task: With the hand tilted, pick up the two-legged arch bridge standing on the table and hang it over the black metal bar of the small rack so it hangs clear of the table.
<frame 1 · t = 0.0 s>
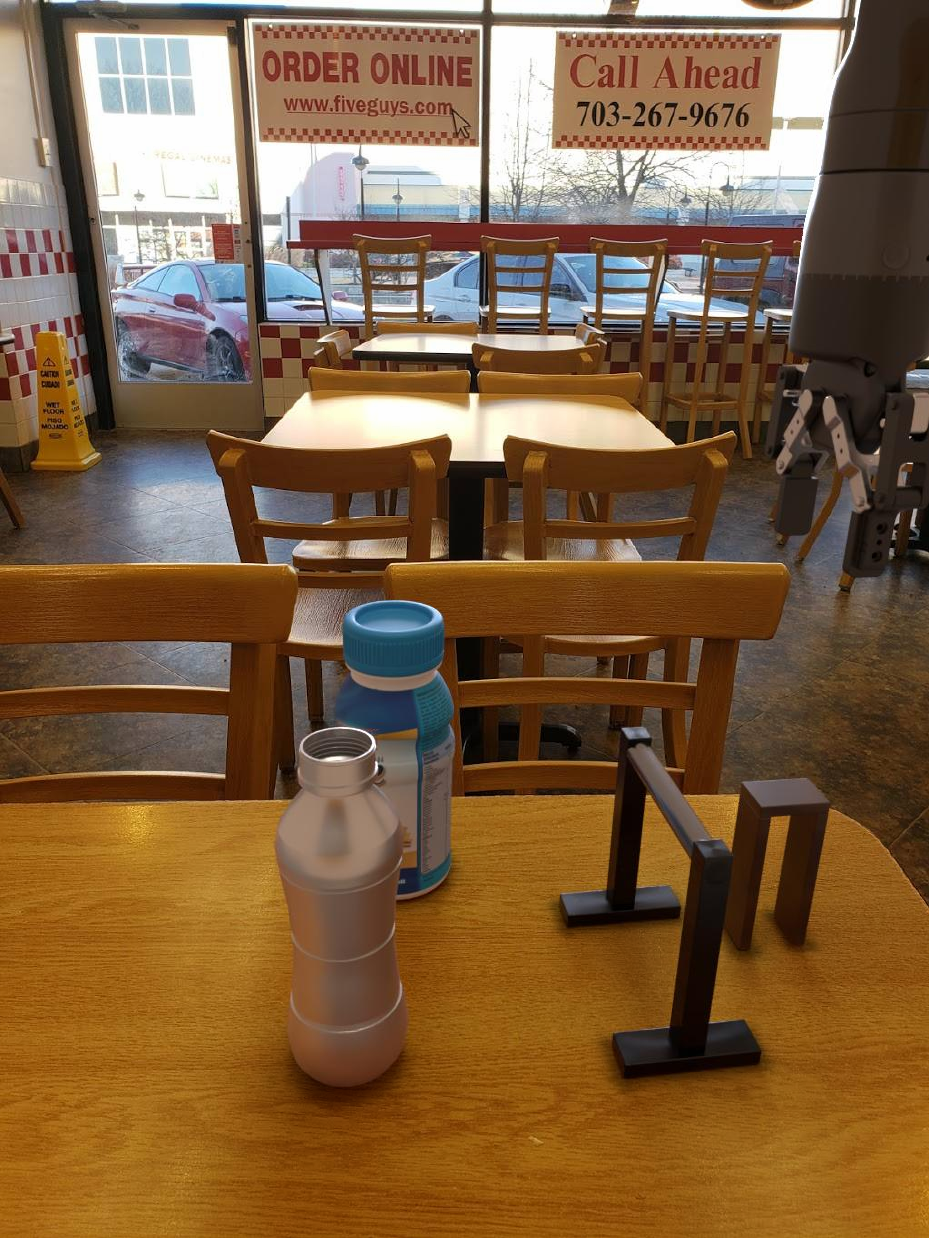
hand: (824, 553, 57), 26 cm above the table, tool pointing down, fingers open, 8 cm apart
rack: (648, 976, 59), on the table
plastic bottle: (348, 1059, 53), on the table
beverage bottle: (395, 871, 69), on the table
two-legged arch bridge: (761, 932, 63), on the table
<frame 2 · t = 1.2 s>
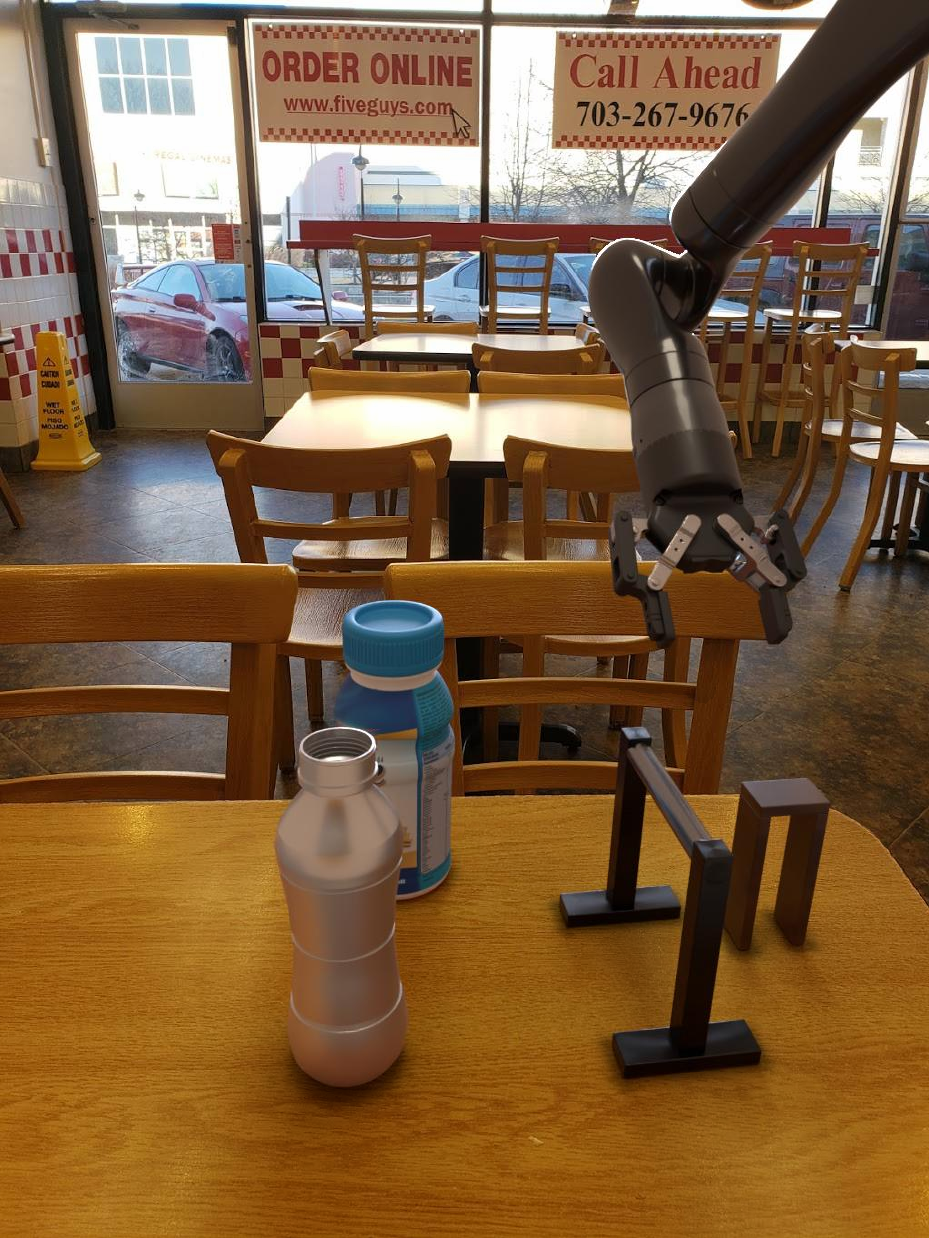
hand: (723, 642, 68), 17 cm above the table, tool tilted 45°, fingers open, 8 cm apart
nothing on the table moved.
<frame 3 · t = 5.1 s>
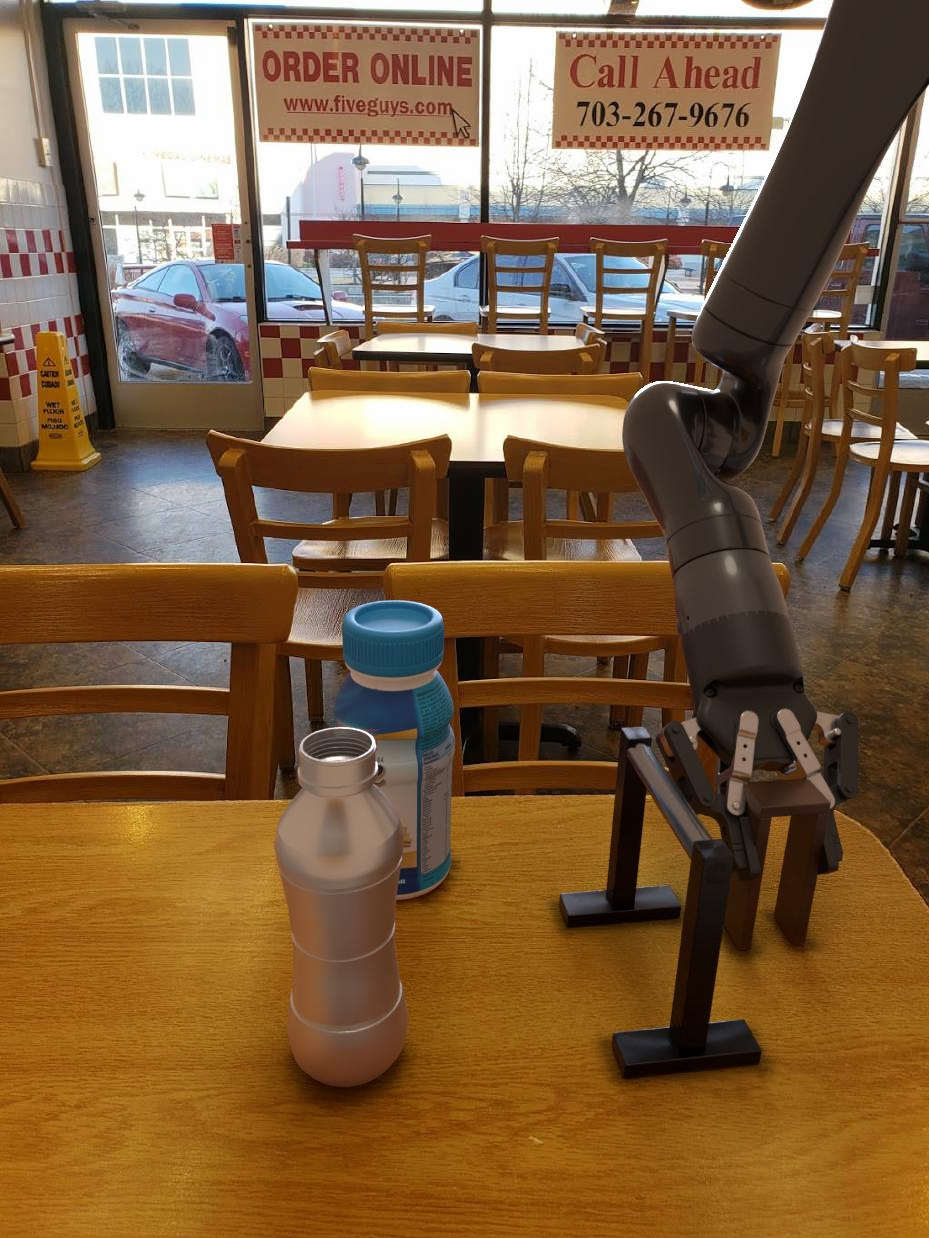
hand: (788, 874, 60), 6 cm above the table, tool tilted 45°, fingers closed on two-legged arch bridge, 4 cm apart
two-legged arch bridge: (762, 932, 63), on the table, touching gripper
everything else where it was.
when the fingers open (10 cm above the table, at t = 14.2 s): two-legged arch bridge stays where it is, resting on rack.
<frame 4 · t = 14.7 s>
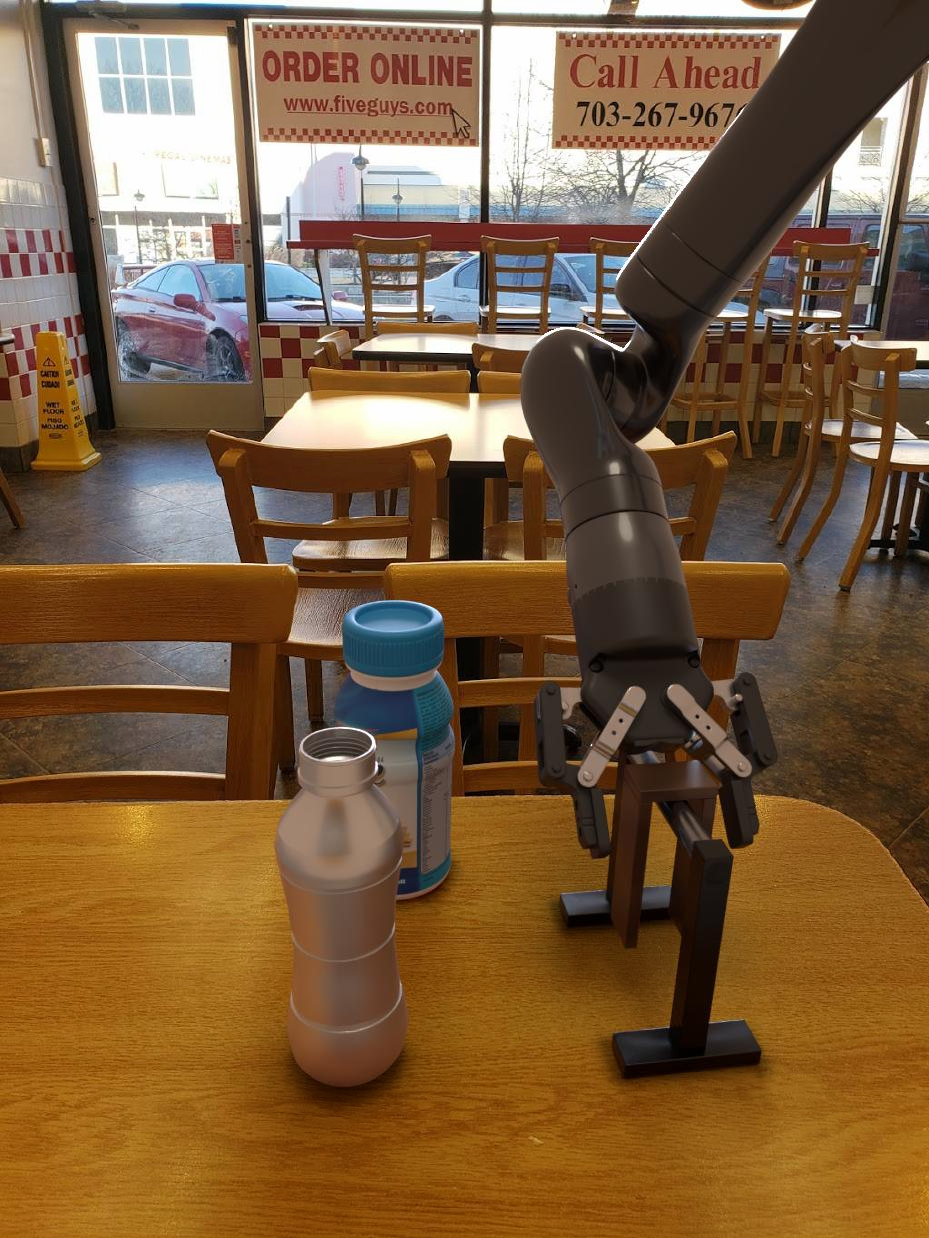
hand: (672, 851, 54), 10 cm above the table, tool tilted 45°, fingers open, 8 cm apart
two-legged arch bridge: (652, 929, 58), point 4 cm above the table, touching rack
everything else where it was.
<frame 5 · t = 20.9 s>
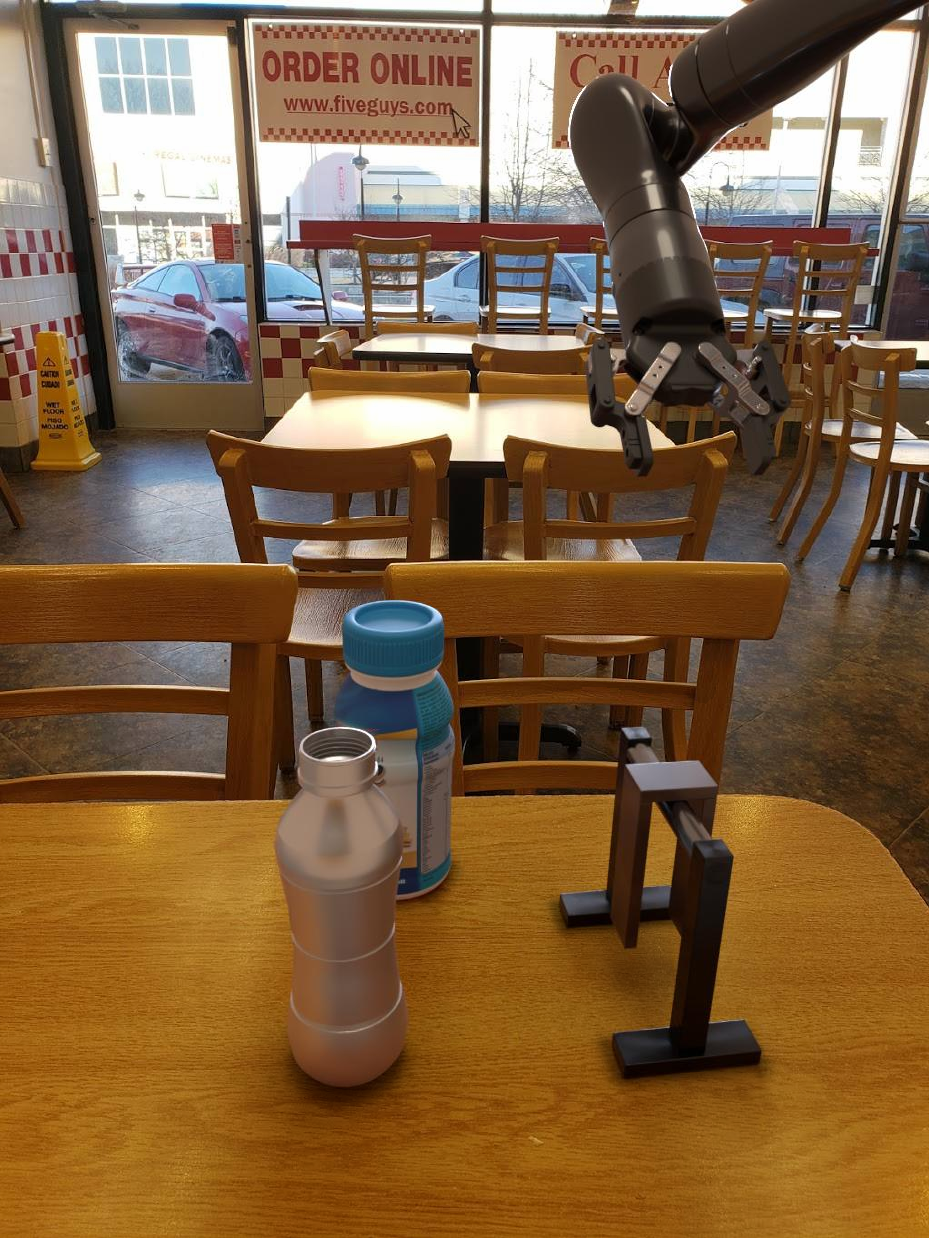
hand: (704, 470, 65), 29 cm above the table, tool tilted 45°, fingers open, 8 cm apart
nothing on the table moved.
at the end: two-legged arch bridge 0.0 cm off-centre on the rack, point 3.6 cm above the rack's base; two-legged arch bridge touching rack; the gripper is holding nothing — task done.
